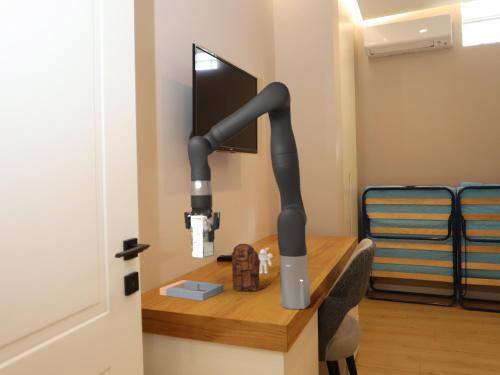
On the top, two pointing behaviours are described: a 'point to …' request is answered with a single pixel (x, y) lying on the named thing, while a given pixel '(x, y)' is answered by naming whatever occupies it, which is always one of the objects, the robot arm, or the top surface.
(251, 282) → the wooden figurine
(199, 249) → the syrup box
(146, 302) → the top surface
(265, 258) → the flower shoulder figurine
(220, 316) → the top surface
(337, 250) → the top surface
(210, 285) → the keyhole board
